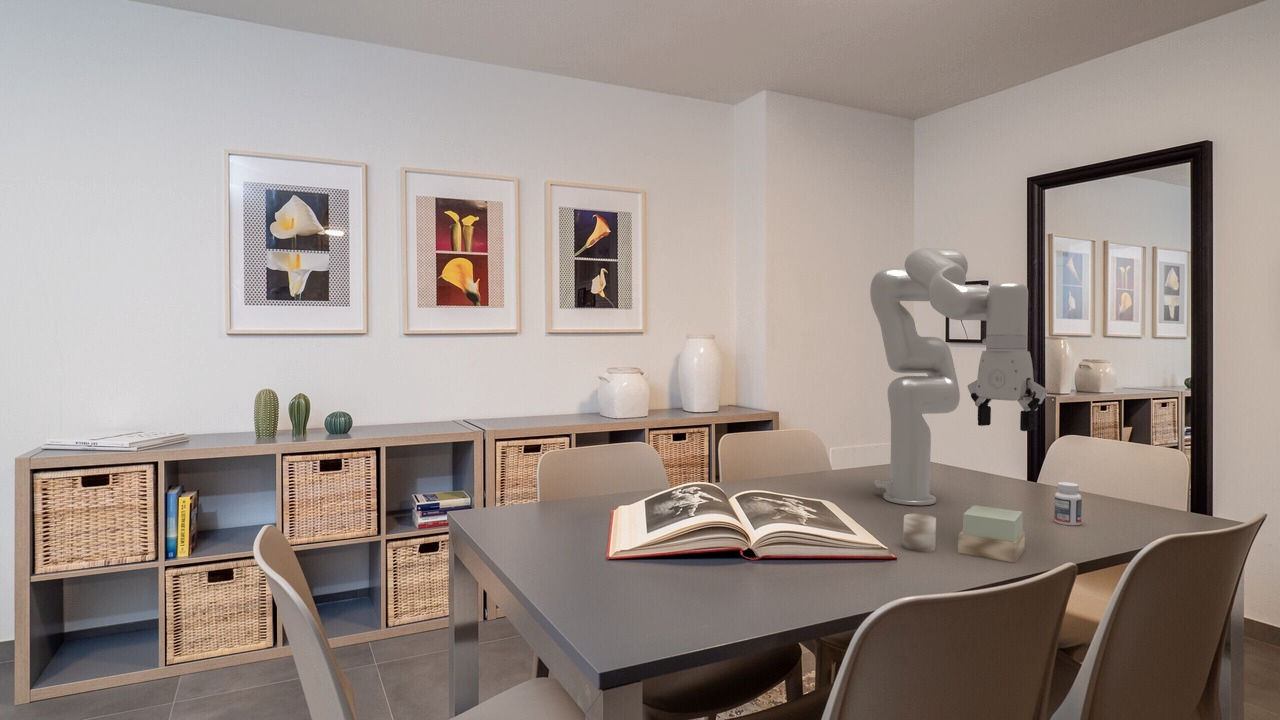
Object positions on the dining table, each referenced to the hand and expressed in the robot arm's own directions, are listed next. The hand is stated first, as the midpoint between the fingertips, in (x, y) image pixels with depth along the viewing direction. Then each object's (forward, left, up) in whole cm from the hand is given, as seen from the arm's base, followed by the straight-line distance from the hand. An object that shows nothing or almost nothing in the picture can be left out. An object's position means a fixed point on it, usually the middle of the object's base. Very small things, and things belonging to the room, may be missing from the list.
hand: (1004, 427), depth 150 cm
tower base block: (0, -9, -24) cm, 25 cm away
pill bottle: (+9, +25, -24) cm, 35 cm away
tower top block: (0, -9, -20) cm, 22 cm away
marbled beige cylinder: (-12, -15, -23) cm, 30 cm away
